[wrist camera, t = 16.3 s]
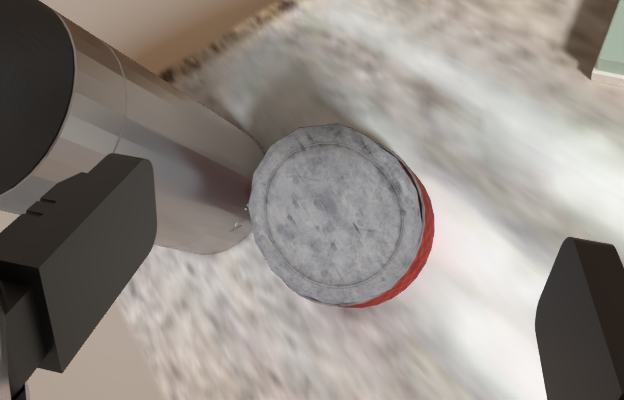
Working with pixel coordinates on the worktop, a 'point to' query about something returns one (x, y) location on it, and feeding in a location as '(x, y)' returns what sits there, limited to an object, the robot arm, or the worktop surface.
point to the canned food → (340, 217)
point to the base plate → (612, 52)
